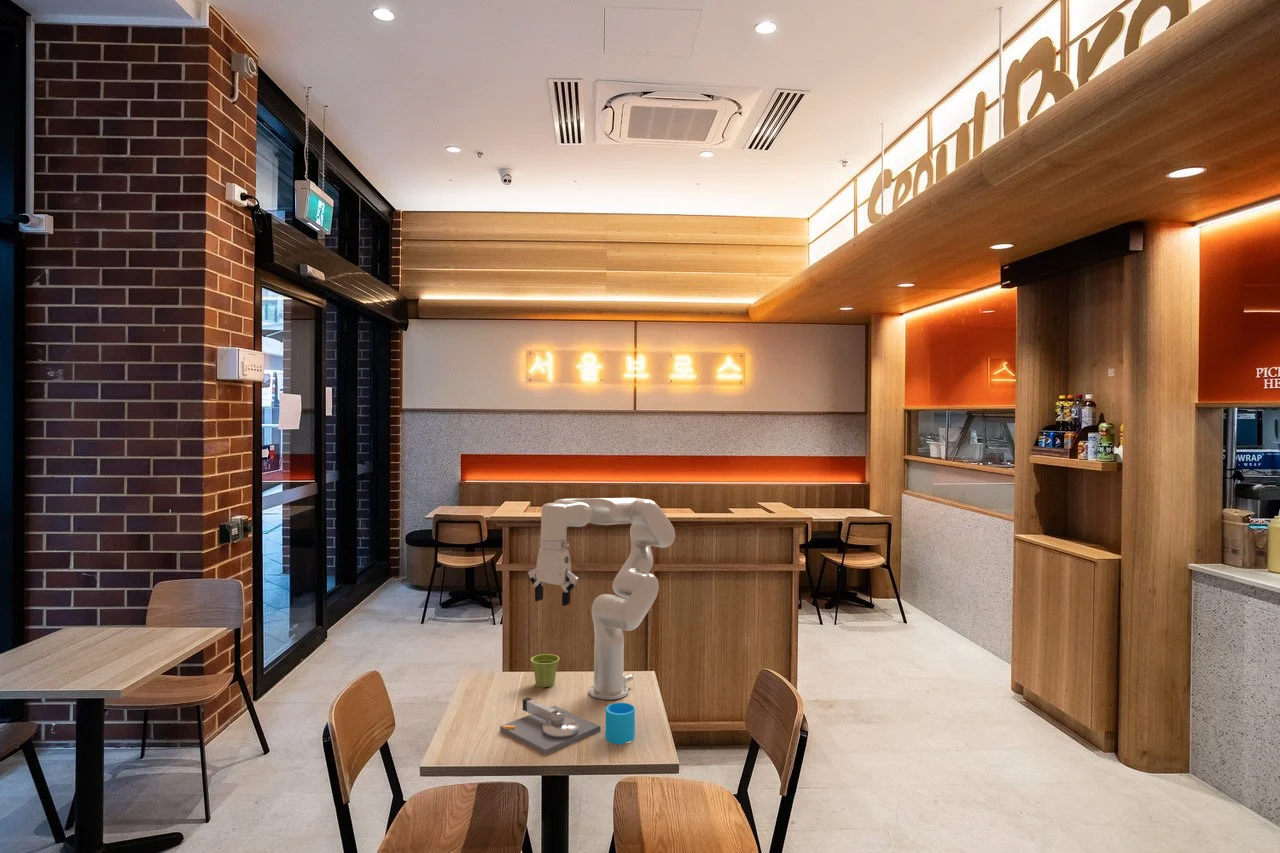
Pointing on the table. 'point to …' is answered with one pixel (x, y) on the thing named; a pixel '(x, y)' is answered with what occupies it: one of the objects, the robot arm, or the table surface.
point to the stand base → (532, 734)
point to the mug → (620, 723)
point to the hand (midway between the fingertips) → (552, 602)
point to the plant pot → (545, 669)
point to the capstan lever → (552, 720)
